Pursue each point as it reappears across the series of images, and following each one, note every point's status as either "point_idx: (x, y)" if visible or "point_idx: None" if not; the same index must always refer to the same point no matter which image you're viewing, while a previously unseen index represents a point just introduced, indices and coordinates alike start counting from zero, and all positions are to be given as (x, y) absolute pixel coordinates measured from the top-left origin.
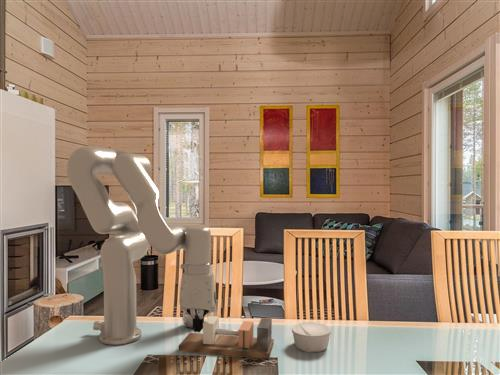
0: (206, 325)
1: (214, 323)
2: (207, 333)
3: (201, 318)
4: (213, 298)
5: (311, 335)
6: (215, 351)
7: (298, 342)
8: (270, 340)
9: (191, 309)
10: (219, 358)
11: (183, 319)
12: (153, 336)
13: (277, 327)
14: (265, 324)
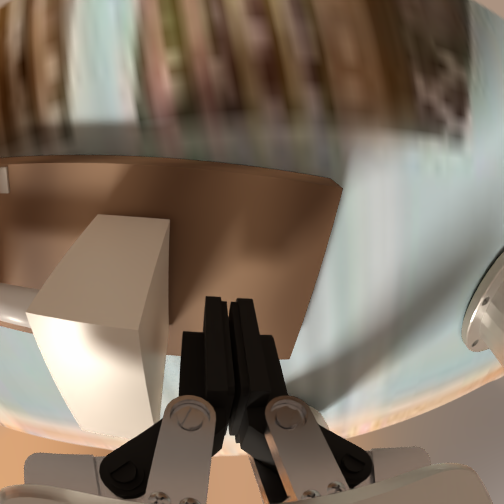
0: (103, 307)
1: (44, 339)
2: (115, 256)
3: (182, 401)
4: None
5: None
6: (80, 159)
7: None
8: None
9: (326, 484)
10: (56, 105)
11: (327, 427)
12: (430, 319)
13: (6, 398)
14: None
